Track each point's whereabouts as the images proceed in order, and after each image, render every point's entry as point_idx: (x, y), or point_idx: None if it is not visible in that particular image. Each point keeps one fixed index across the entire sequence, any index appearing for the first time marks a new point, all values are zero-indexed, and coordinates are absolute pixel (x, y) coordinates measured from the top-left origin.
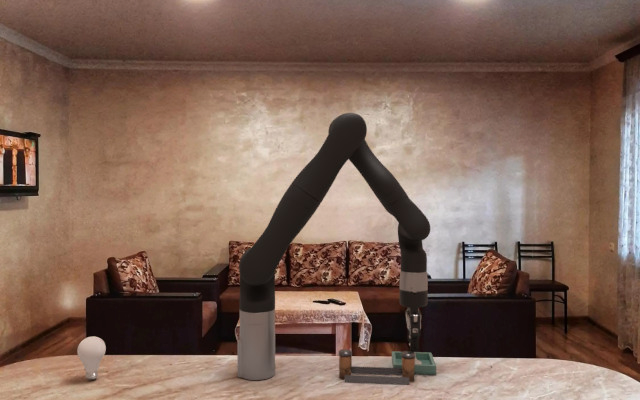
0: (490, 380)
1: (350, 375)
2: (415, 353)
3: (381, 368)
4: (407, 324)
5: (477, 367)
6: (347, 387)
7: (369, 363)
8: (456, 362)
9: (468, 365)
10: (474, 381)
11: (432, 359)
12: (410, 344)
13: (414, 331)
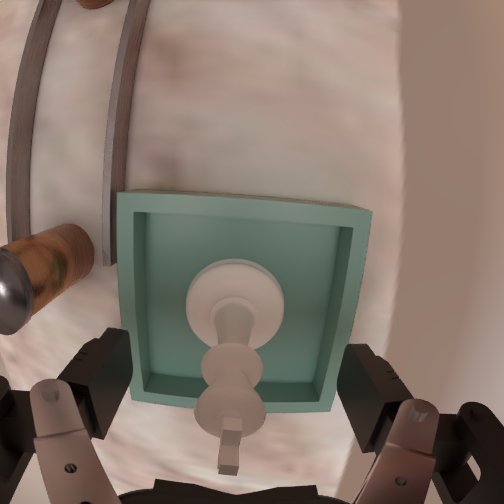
0: (137, 483)
1: (37, 7)
2: (332, 344)
3: (109, 122)
4: (430, 418)
5: (245, 488)
6: (19, 22)
7: (294, 75)
8: (297, 454)
9: (264, 475)
10: (116, 454)
11: None
12: (89, 351)
13: (219, 457)
